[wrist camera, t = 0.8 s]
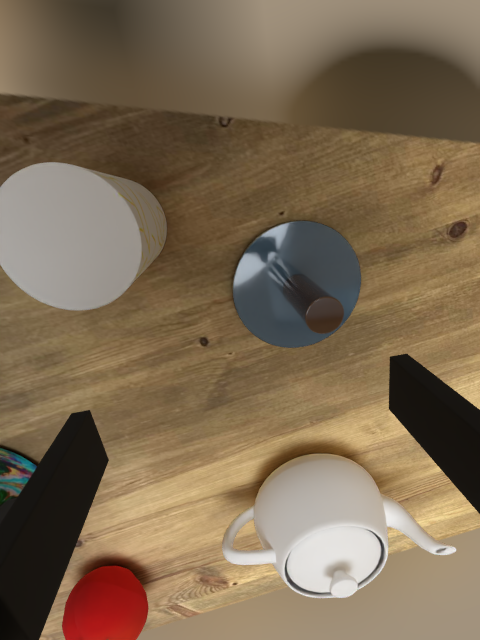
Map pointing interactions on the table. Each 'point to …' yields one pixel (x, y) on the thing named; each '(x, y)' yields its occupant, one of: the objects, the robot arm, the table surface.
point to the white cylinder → (77, 234)
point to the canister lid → (296, 284)
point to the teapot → (324, 526)
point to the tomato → (106, 606)
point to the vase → (13, 474)
